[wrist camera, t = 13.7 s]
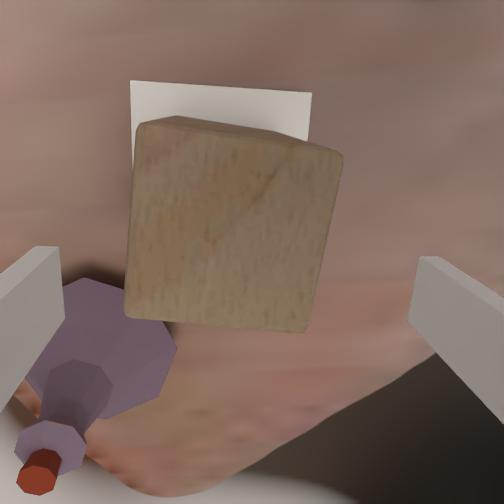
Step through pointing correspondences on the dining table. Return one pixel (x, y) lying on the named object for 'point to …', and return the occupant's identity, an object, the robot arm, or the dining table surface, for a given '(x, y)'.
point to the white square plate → (222, 106)
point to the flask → (88, 378)
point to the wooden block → (227, 224)
